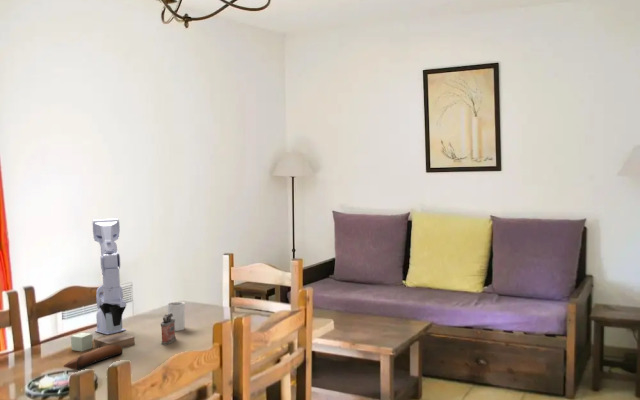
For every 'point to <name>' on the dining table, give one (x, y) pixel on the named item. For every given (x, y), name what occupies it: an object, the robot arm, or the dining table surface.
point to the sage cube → (82, 341)
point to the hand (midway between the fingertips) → (113, 324)
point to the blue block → (110, 324)
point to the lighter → (168, 329)
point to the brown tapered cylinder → (94, 356)
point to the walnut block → (114, 340)
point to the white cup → (177, 314)
